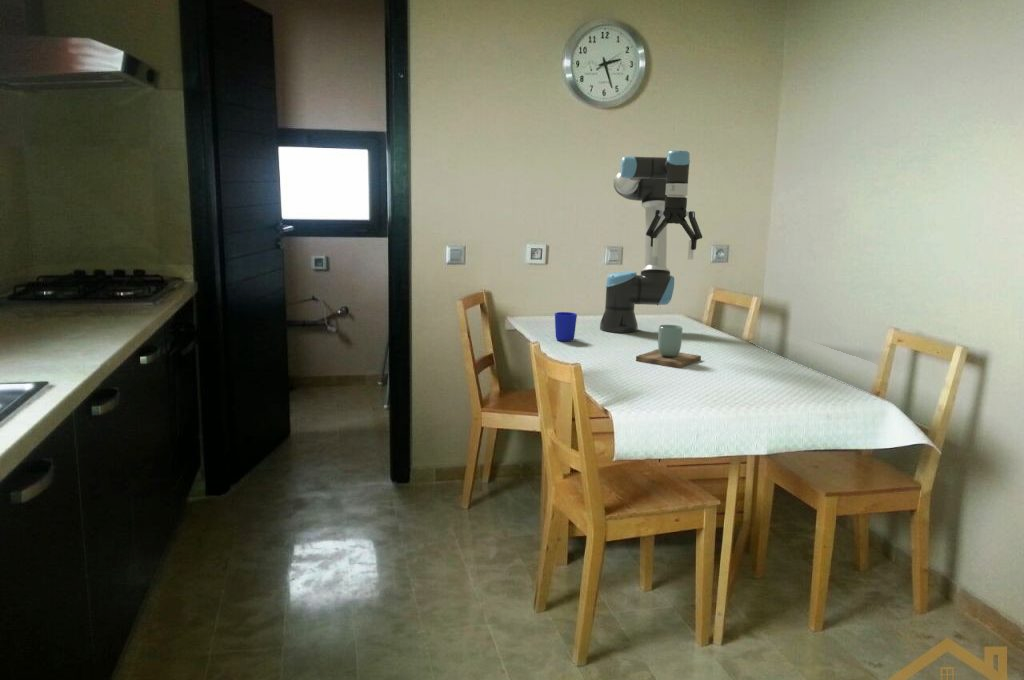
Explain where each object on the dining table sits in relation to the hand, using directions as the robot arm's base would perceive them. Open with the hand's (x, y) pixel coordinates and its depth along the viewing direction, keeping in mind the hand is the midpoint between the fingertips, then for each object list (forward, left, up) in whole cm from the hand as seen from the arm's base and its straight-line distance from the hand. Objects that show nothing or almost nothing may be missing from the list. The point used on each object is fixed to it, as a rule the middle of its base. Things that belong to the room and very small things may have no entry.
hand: (672, 257), depth 281 cm
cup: (+9, -17, -31) cm, 37 cm away
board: (+9, -17, -33) cm, 38 cm away
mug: (-37, -10, -33) cm, 51 cm away
